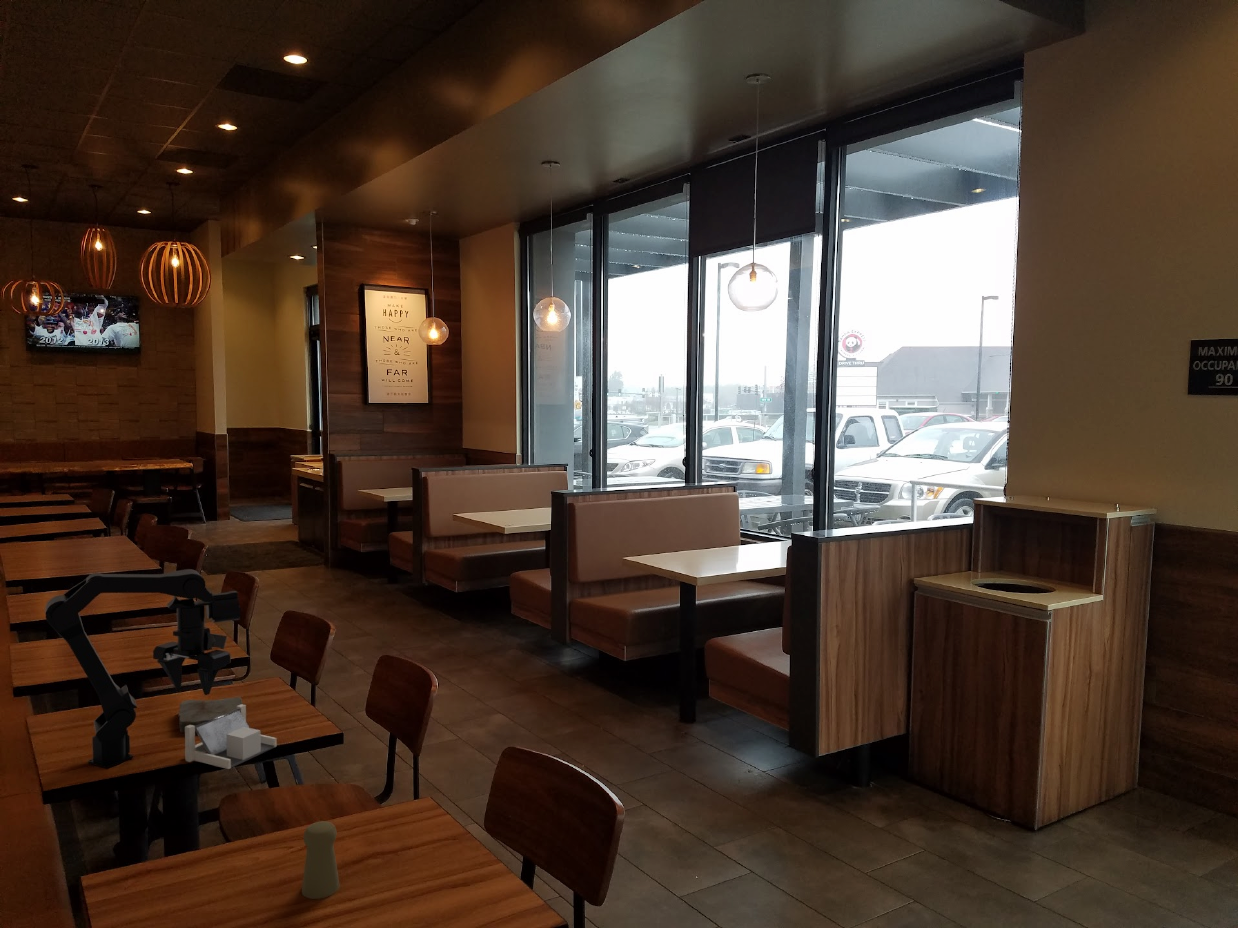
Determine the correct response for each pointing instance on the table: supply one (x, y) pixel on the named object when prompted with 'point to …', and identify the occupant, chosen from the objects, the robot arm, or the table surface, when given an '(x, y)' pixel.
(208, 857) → the table surface
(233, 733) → the light grey cube
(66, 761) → the table surface
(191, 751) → the frame
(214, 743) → the trapdoor
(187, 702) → the marble piece
